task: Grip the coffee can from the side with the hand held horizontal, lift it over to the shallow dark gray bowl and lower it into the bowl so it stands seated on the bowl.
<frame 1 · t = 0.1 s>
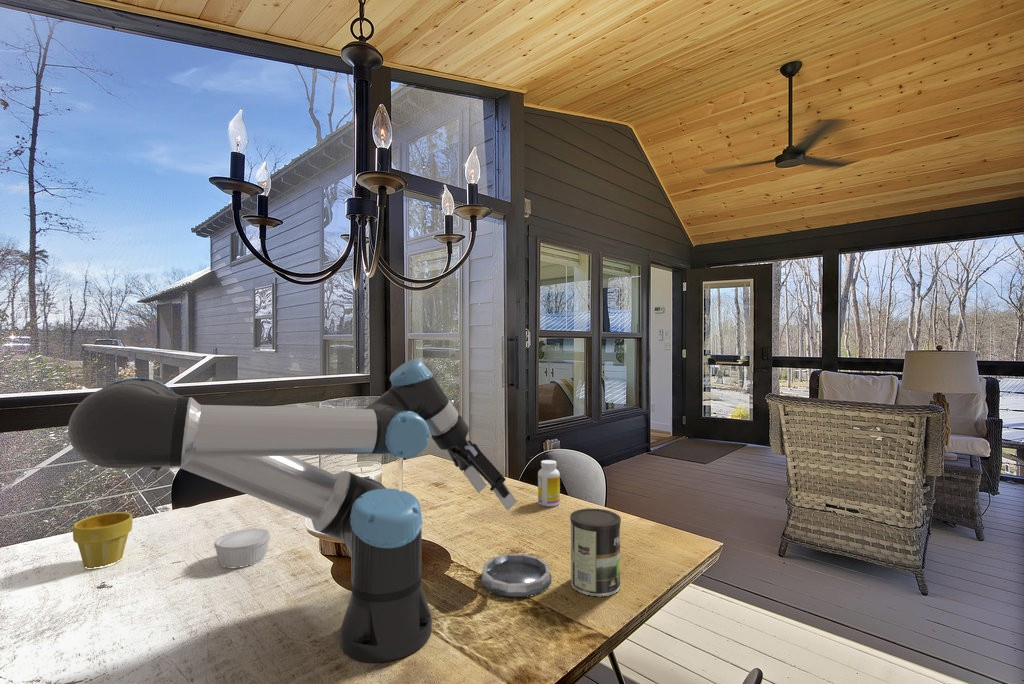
hand: (496, 496, 111), 15 cm above the table, tool tilted 35°, fingers open, 13 cm apart
ramekin: (242, 560, 113), on the table
shallow dark gray bowl: (516, 579, 104), on the table
plant pot: (103, 563, 111), on the table
coffee can: (595, 585, 102), on the table
supplement bottle: (548, 504, 151), on the table
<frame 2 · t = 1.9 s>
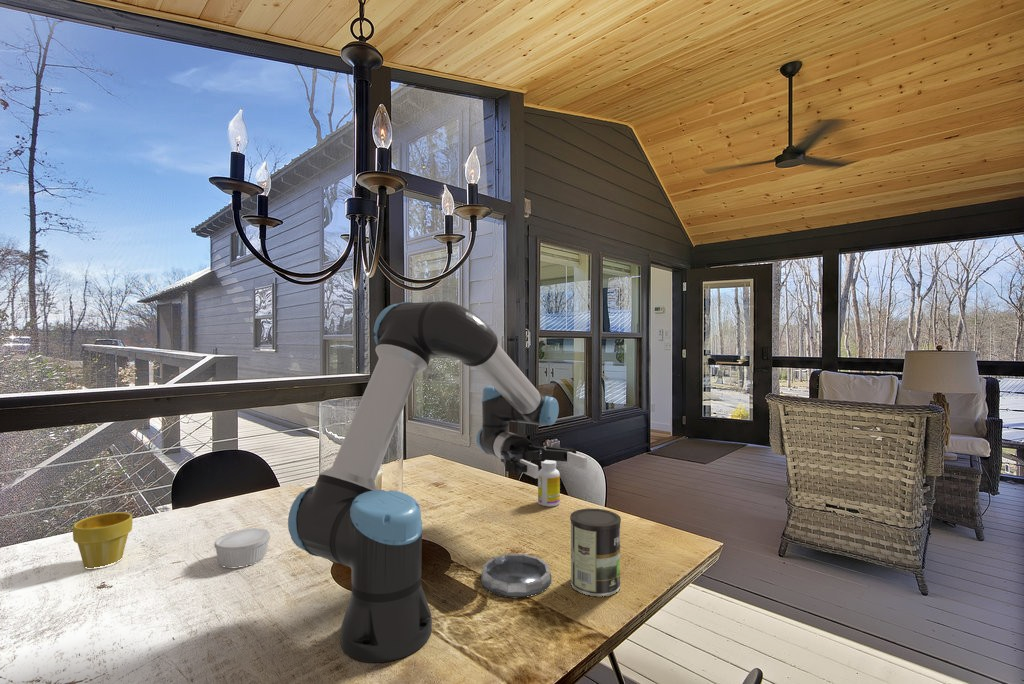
hand: (562, 467, 112), 21 cm above the table, tool horizontal, fingers open, 13 cm apart
nothing on the table moved.
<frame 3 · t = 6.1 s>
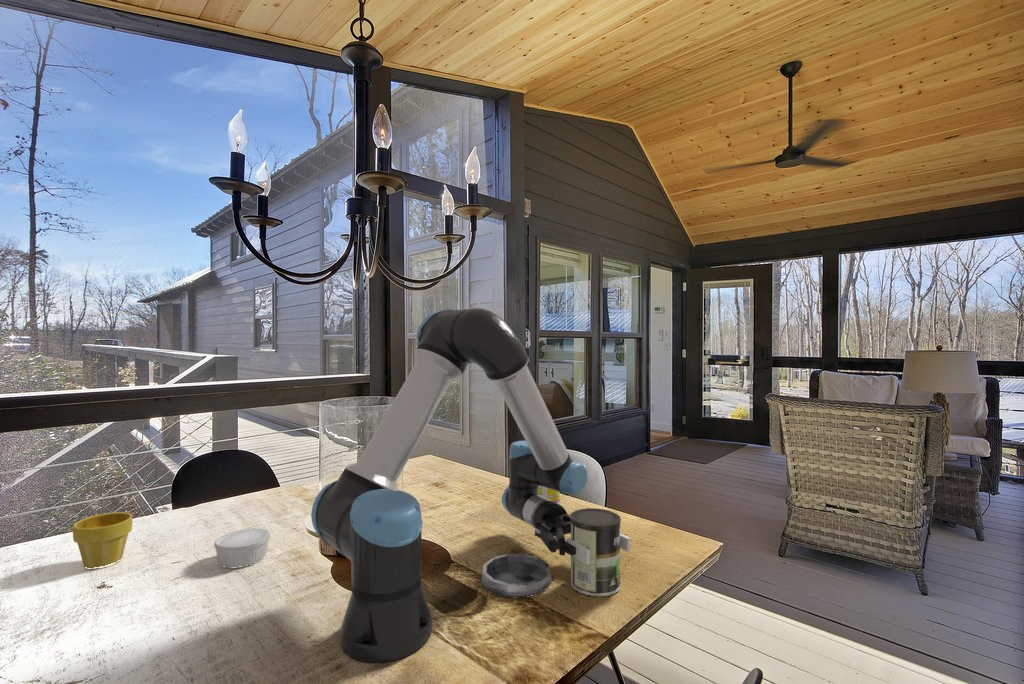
hand: (609, 550, 98), 9 cm above the table, tool horizontal, fingers closed on coffee can, 10 cm apart
coffee can: (595, 585, 102), on the table, touching gripper
everything else where it was.
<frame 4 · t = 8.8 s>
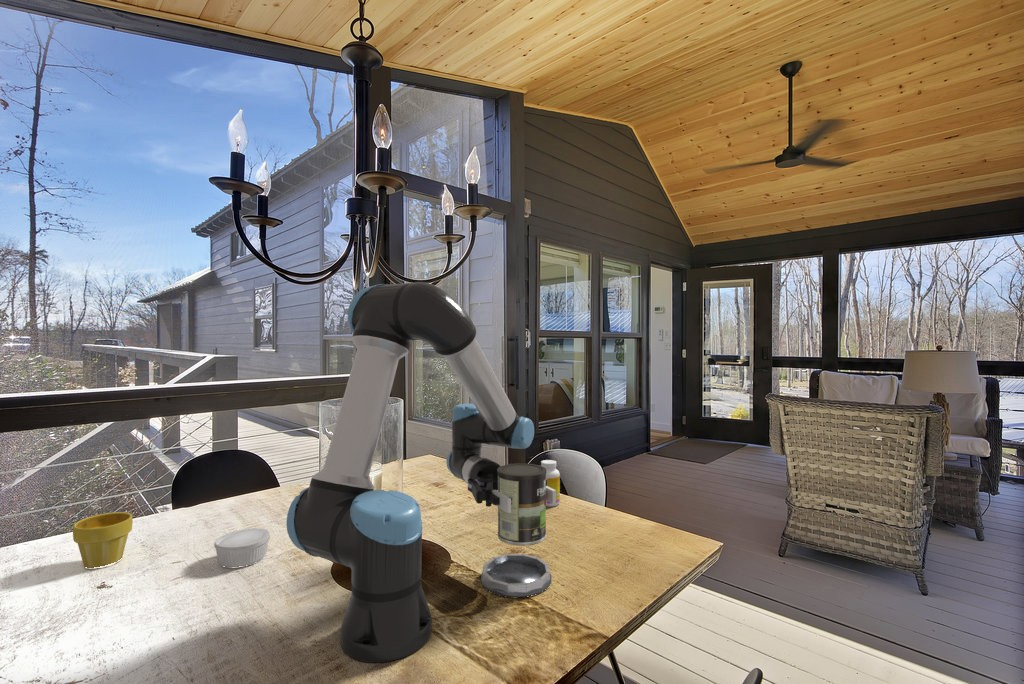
hand: (532, 501, 100), 18 cm above the table, tool horizontal, fingers closed on coffee can, 10 cm apart
coffee can: (521, 536, 104), point 9 cm above the table, touching gripper
everything else where it was.
when the fingers open (10 cm above the table, at t = 11.3 s): coffee can stays where it is, resting on shallow dark gray bowl.
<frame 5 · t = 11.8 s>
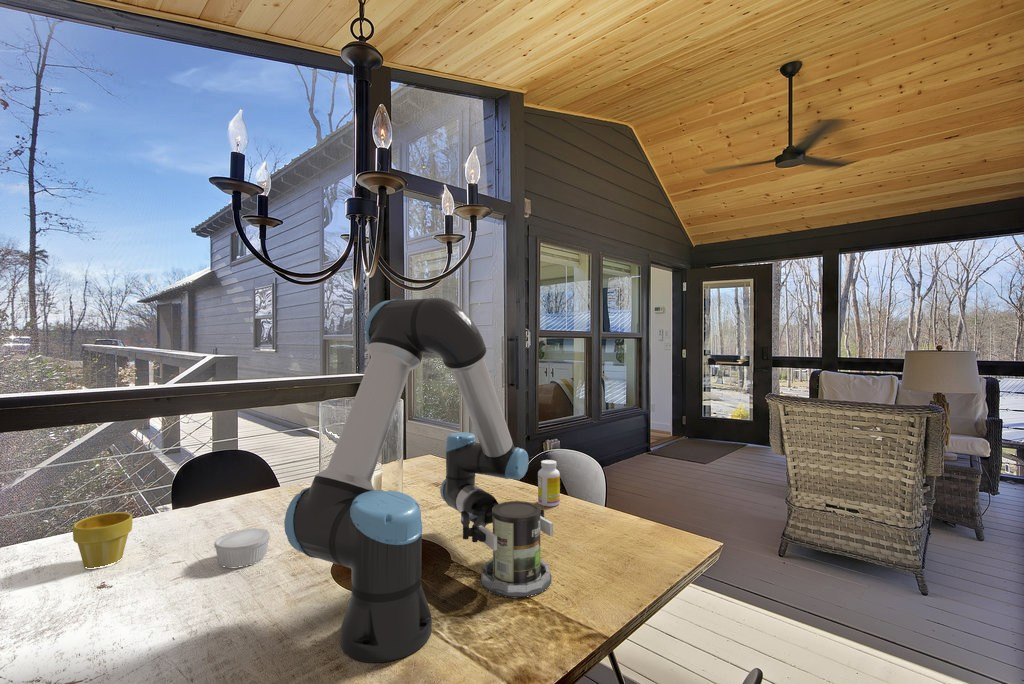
hand: (524, 536, 101), 10 cm above the table, tool horizontal, fingers open, 13 cm apart
coffee can: (516, 576, 104), point 1 cm above the table, touching shallow dark gray bowl
everything else where it was.
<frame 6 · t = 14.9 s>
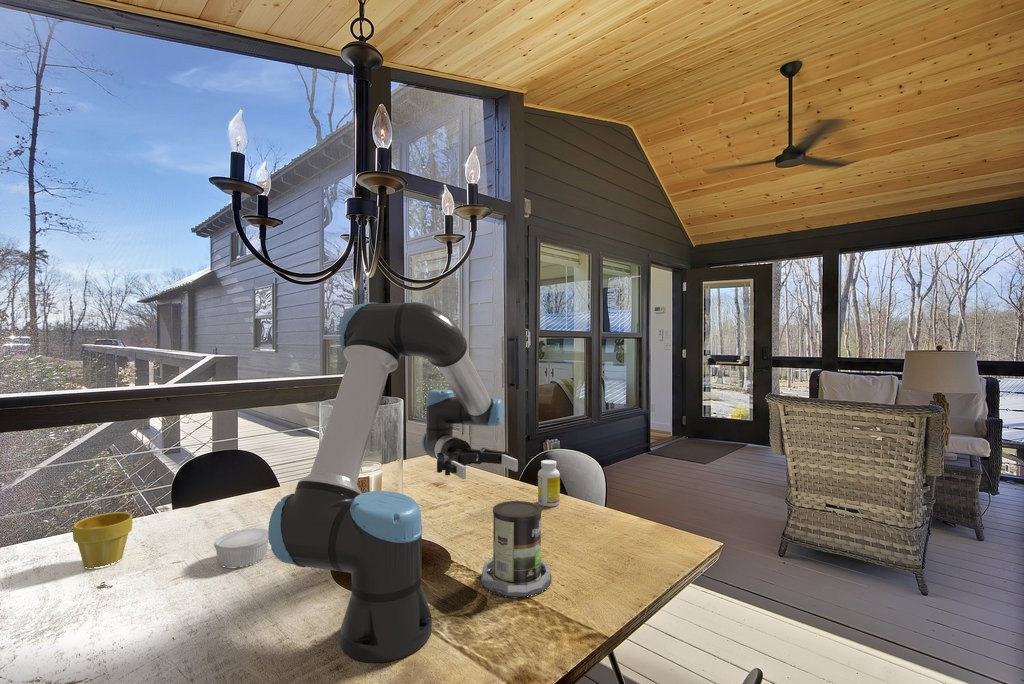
hand: (491, 469, 114), 21 cm above the table, tool horizontal, fingers open, 13 cm apart
nothing on the table moved.
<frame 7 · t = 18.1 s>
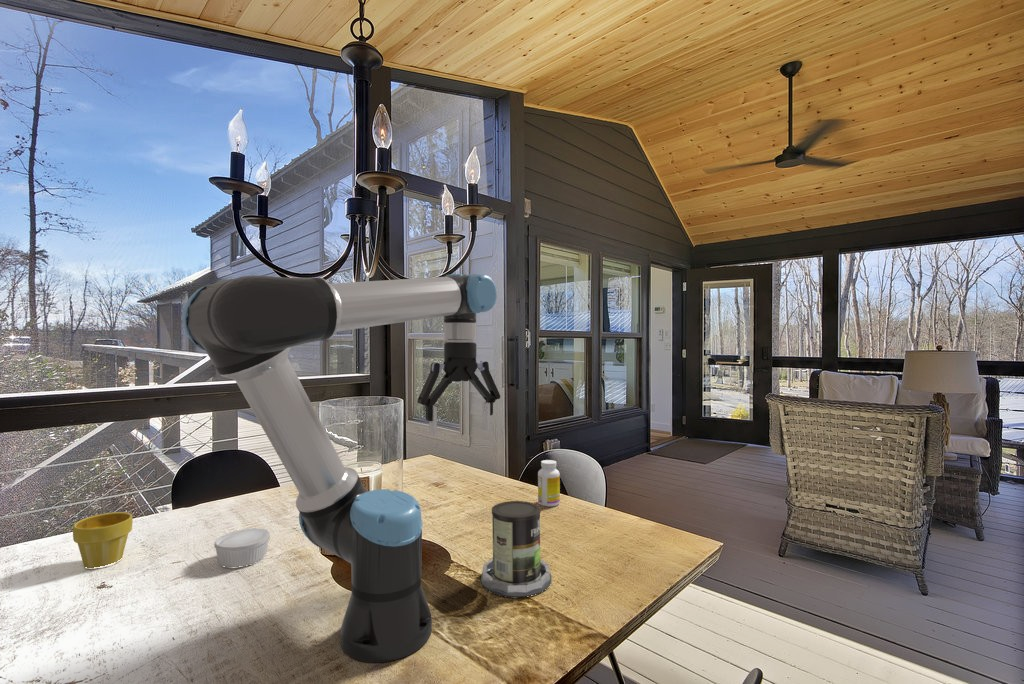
hand: (460, 432, 116), 29 cm above the table, tool pointing down, fingers open, 13 cm apart
nothing on the table moved.
at the end: coffee can 0.1 cm off-centre on the shallow dark gray bowl, point 0.7 cm above the shallow dark gray bowl's base; coffee can tilted 1°; the gripper is holding nothing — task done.
